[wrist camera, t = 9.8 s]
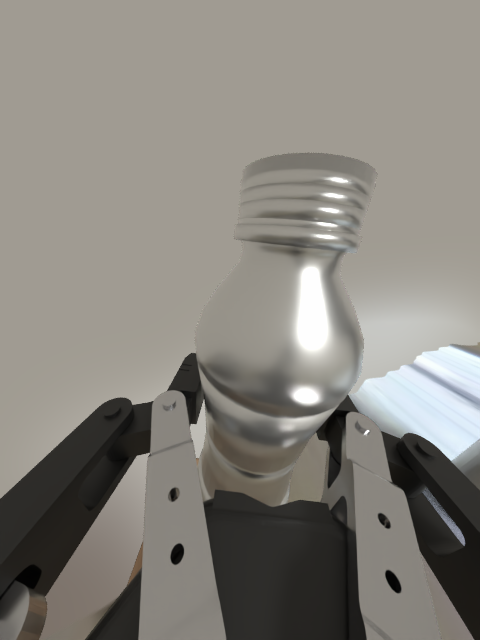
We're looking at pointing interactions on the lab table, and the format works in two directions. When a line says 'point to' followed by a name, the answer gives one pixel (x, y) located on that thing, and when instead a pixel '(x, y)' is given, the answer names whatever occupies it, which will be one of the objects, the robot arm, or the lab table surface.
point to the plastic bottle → (281, 322)
